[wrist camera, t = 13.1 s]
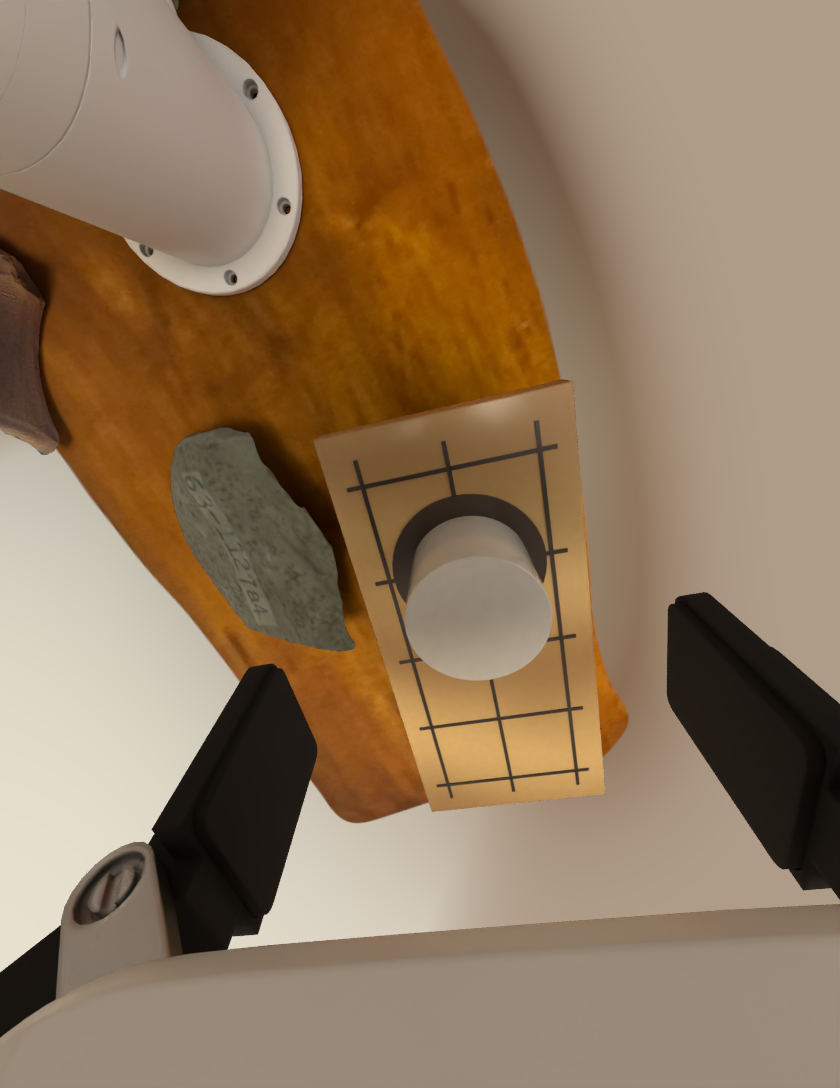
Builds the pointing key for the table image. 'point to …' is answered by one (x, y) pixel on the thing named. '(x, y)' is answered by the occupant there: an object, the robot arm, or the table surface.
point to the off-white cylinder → (475, 600)
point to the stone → (257, 541)
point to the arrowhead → (175, 4)
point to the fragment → (22, 359)
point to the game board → (555, 549)
